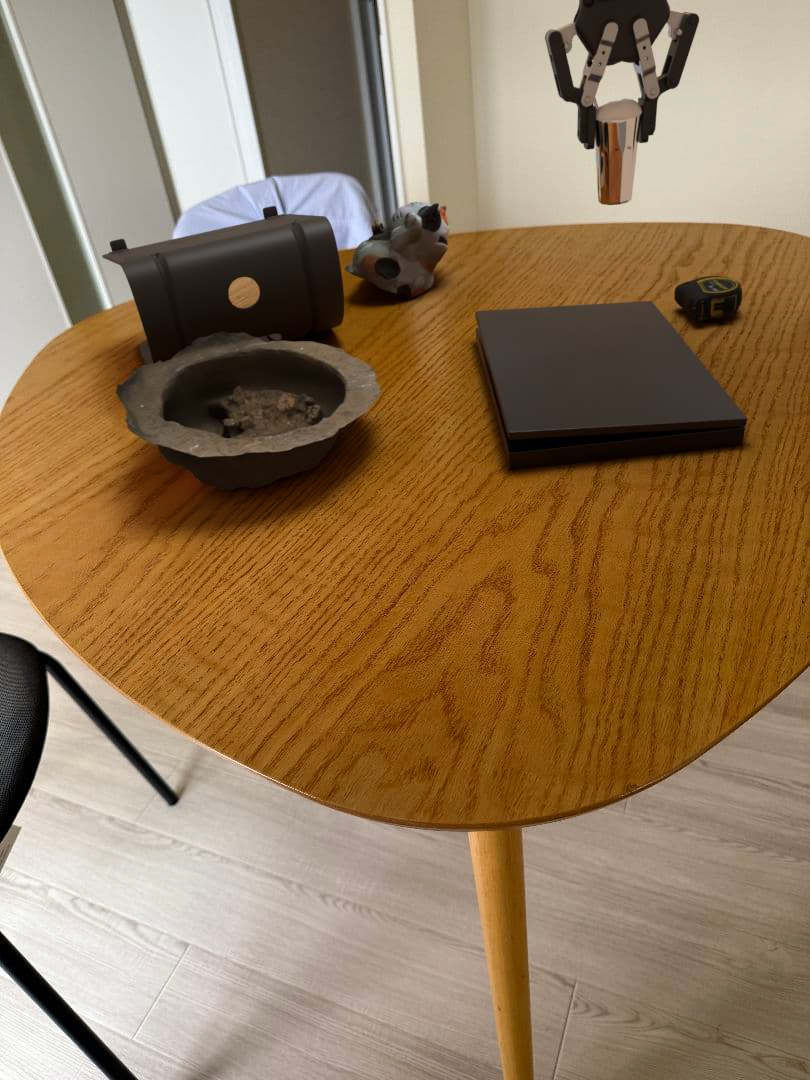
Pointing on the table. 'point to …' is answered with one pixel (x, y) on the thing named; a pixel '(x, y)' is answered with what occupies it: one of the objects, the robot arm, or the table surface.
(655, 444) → the laptop
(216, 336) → the stone bowl
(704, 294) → the tape measure
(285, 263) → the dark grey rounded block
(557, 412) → the laptop screen
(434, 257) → the lucky cat figurine
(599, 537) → the table surface
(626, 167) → the milkshake
